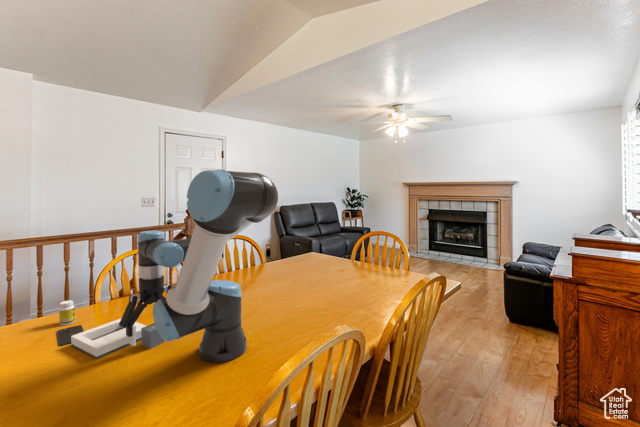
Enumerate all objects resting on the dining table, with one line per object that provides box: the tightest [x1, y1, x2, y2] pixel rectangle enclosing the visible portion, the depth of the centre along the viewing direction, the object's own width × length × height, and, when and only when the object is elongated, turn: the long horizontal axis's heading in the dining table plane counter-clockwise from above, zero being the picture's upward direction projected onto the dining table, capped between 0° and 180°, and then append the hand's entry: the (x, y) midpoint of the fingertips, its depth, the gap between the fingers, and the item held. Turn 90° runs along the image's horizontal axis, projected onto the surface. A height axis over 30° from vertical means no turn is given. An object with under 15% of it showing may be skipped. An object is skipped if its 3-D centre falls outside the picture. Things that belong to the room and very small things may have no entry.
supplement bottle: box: [58, 299, 76, 326], centre depth 116 cm, size 5×5×8 cm
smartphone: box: [56, 324, 85, 347], centre depth 107 cm, size 7×1×15 cm
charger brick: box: [141, 322, 166, 350], centre depth 102 cm, size 5×5×6 cm
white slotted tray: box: [70, 317, 147, 360], centre depth 103 cm, size 16×17×4 cm
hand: (152, 335), depth 102 cm, fingers open, 13 cm apart
